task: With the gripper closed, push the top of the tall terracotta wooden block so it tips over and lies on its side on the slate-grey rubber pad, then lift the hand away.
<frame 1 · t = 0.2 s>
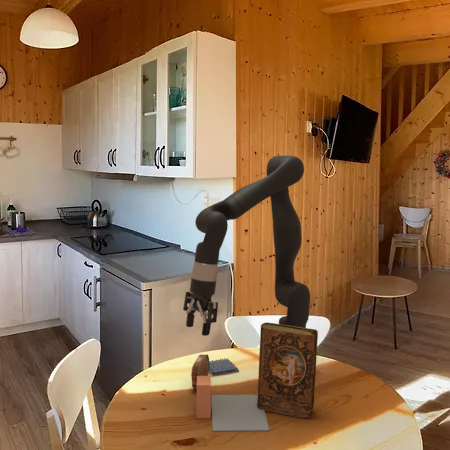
hand: (197, 330, 144), 23 cm above the table, tool pointing down, fingers open, 8 cm apart
woven mat: (220, 370, 172), on the table
book: (284, 410, 144), on the table, touching slate pad
tin: (200, 383, 160), on the table
slate pad: (238, 412, 142), on the table
terracotta block: (203, 412, 142), on the table
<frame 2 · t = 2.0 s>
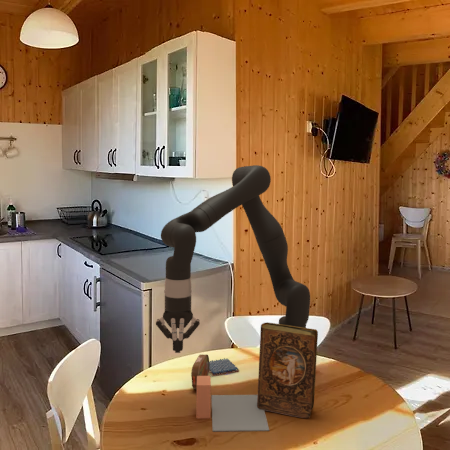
hand: (177, 351, 139), 19 cm above the table, tool pointing down, fingers closed
nothing on the table moved.
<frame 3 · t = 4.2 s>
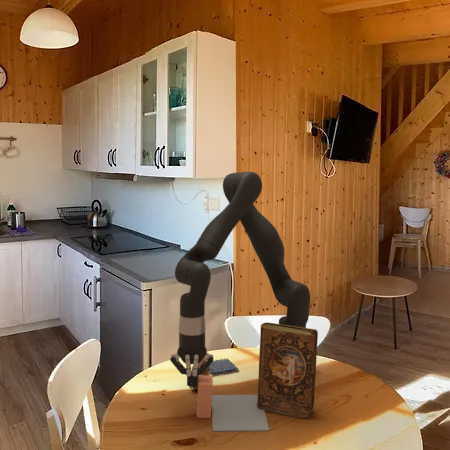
hand: (191, 386, 140), 8 cm above the table, tool pointing down, fingers closed
nothing on the table moved.
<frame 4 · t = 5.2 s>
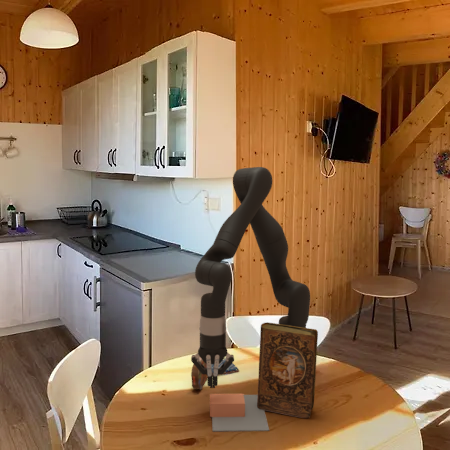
hand: (212, 386, 141), 8 cm above the table, tool pointing down, fingers closed
terracotta block: (209, 405, 141), point 2 cm above the table, tilted 90°, touching slate pad
everything else where it was.
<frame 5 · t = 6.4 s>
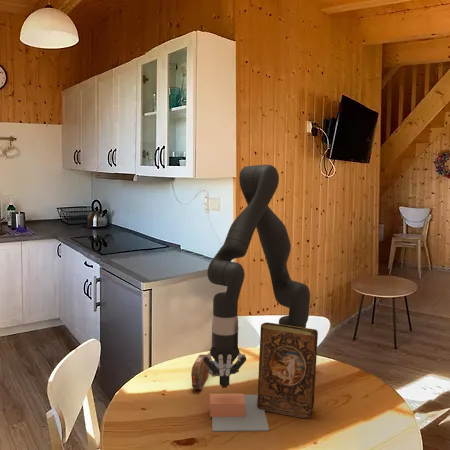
hand: (224, 386, 141), 8 cm above the table, tool pointing down, fingers closed
nothing on the table moved.
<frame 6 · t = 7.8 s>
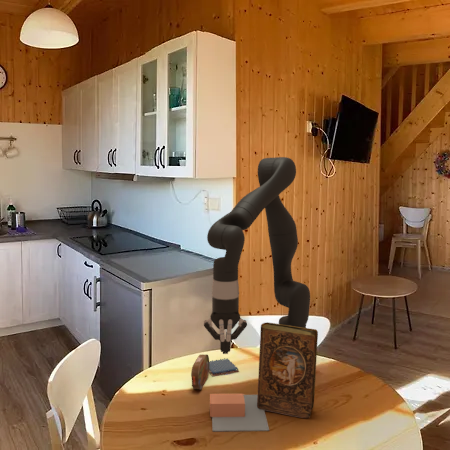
hand: (225, 352, 139), 18 cm above the table, tool pointing down, fingers closed
nothing on the table moved.
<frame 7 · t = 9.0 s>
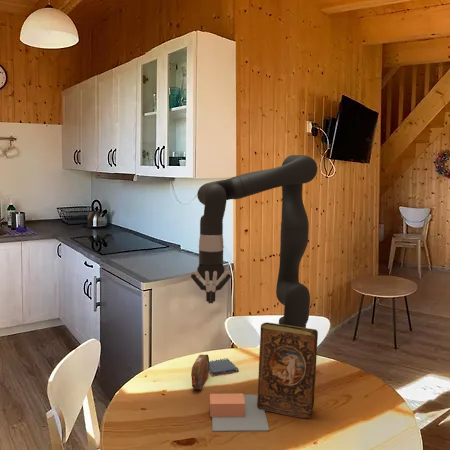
hand: (210, 302, 152), 29 cm above the table, tool pointing down, fingers closed
nothing on the table moved.
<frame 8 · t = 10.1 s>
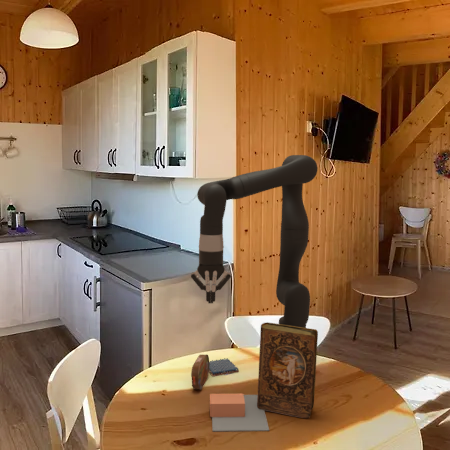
hand: (210, 302, 152), 29 cm above the table, tool pointing down, fingers closed
nothing on the table moved.
at the end: terracotta block tilted 90°; terracotta block inside the target area (3.6 cm from its centre), point 2.3 cm above the table; terracotta block touching slate pad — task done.
